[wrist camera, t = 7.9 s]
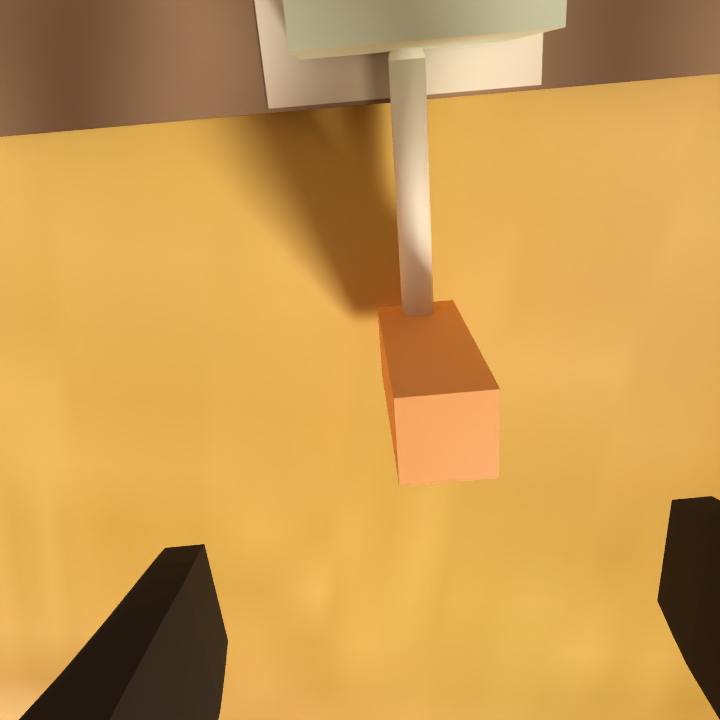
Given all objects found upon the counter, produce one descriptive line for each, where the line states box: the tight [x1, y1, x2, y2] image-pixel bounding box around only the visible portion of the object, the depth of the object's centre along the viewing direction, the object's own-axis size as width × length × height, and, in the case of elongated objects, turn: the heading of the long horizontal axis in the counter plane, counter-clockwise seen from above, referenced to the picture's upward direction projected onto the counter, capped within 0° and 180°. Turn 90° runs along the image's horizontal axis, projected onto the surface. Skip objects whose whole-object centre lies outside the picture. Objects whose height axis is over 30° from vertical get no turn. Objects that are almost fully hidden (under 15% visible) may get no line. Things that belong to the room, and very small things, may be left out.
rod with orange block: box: [283, 0, 567, 486], centre depth 12 cm, size 5×14×5 cm, turn 5°
